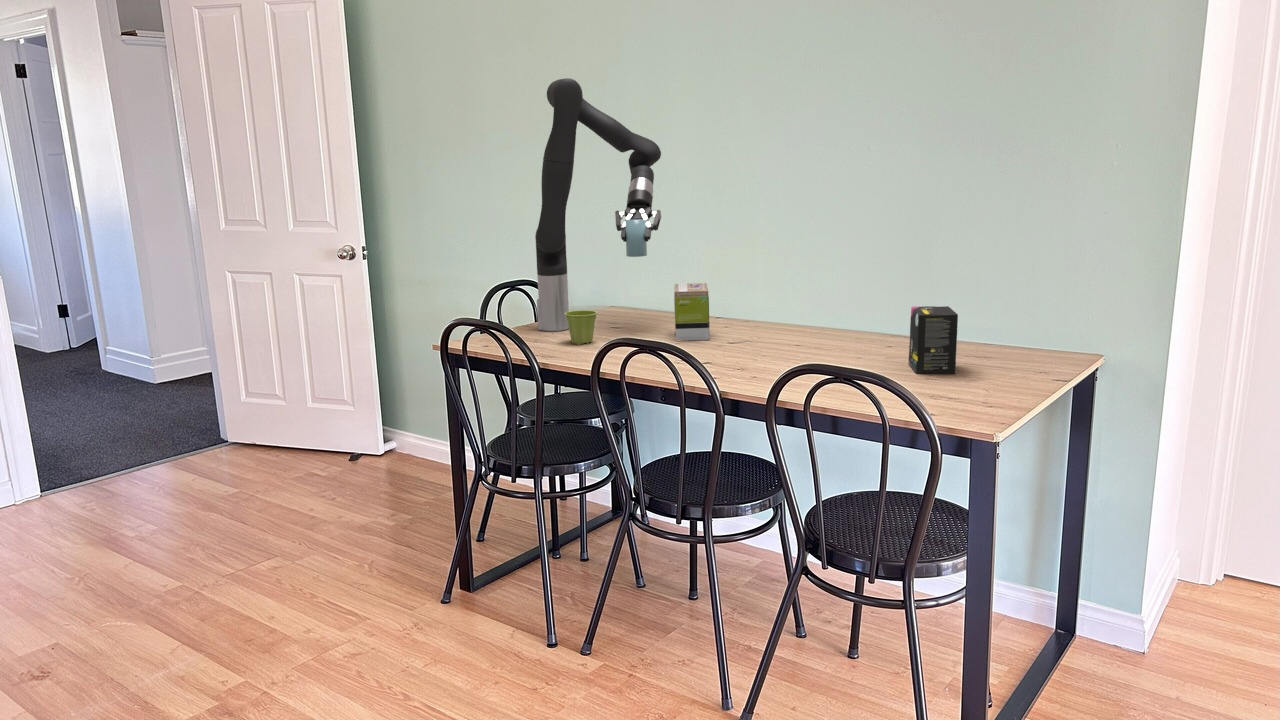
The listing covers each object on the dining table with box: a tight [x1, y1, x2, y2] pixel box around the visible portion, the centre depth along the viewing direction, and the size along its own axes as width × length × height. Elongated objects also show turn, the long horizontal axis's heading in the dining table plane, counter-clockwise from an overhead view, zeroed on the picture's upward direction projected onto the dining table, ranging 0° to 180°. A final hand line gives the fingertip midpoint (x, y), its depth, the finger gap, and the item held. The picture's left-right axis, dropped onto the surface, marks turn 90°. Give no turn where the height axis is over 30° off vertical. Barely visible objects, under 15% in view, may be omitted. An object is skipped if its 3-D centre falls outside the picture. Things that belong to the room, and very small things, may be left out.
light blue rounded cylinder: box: [624, 219, 648, 258], centre depth 270 cm, size 6×6×10 cm
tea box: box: [673, 282, 710, 341], centre depth 269 cm, size 15×10×15 cm
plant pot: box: [565, 309, 598, 345], centre depth 265 cm, size 9×9×9 cm
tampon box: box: [908, 305, 959, 375], centre depth 221 cm, size 11×9×15 cm
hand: (635, 239), depth 268 cm, fingers closed on light blue rounded cylinder, 6 cm apart
